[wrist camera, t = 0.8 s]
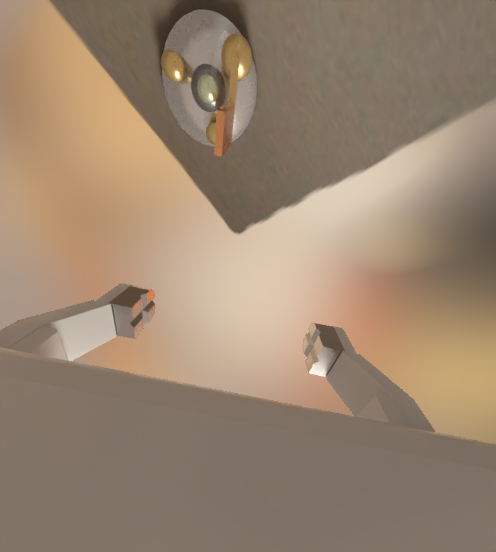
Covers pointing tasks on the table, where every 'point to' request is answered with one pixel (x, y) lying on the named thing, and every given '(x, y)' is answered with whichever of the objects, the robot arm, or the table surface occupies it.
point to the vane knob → (231, 87)
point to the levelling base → (203, 76)
